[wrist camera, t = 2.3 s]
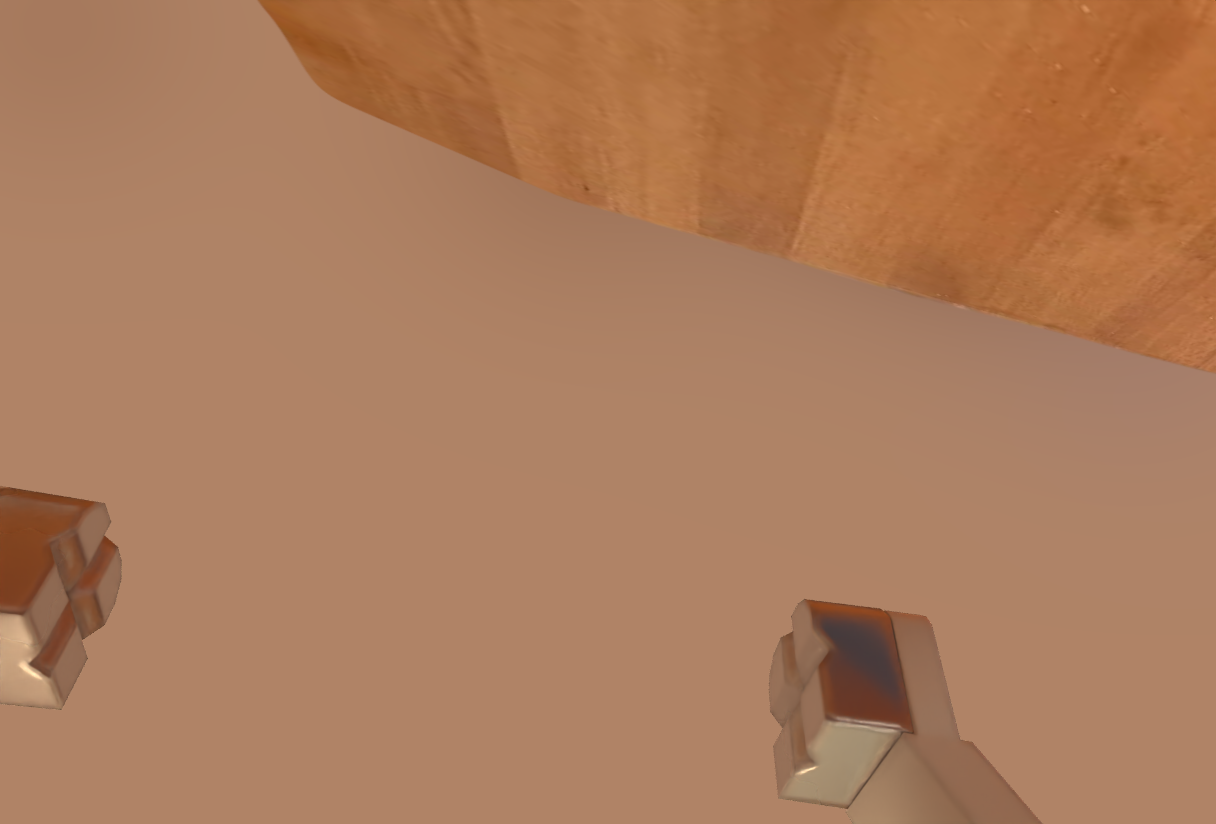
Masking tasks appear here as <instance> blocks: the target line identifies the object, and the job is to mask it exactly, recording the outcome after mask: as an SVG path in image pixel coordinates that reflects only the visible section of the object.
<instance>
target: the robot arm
mask: <svg viewBox="0 0 1216 824" xmlns="http://www.w3.org/2000/svg"><path fill="white" fill-rule="evenodd" d="M110 523H111V520H110V517H109V514H108V511H107V508H106V505H105V503H101V502H95V501H89V500H83V499H77V498H71V497H64V496H58V495H52V494H46V493H39V492H34V491H28V490H21V489H15V488H10V487H3V486H0V704H7V705H18V706H29V707H38V708H48V709H59V710H61V709H62V708H63V706H64V704H65V702H66V700H67V698H68V696H69V694H70V692H71V690H72V688H73V686H74V684H75V682H76V680H77V678H78V677H79V675H80V673H81V671H82V669H83V667H84V665H85V663H86V661H87V659H88V658H87V655H86V651H85V648H84V645H83V641H82V640H83V639H85V638H86V637H87V636H89V635H91V634H92V633H94V632H95V631H96V630H98V629H100V628H101V627H102V626H104V625H105V623H106V621H107V619H108V617H109V615H110V613H111V611H112V609H113V607H114V605H115V602H116V598H117V594H118V590H119V586H120V582H121V557H120V553H119V549H118V547H117V546H116V545H115V544H114V543H112V542H111V541H110V540H109V539H108V538H107V537H105V536H104V534H105V532H106V531H107V529H108V527H109V525H110ZM791 617H792V626H793V632H791V633H789V634H787V635H785V636H783V637H781V638H780V641H779V643H778V645H777V648H776V650H775V652H774V655H773V660H772V665H771V670H770V680H769V681H770V682H769V699H770V712H771V713H772V715H773V716H774V717H775V719H776V720H777V721H778V723H779V724H780V725H781V727H782V728H783V729H782V731H781V733H780V735H779V737H778V739H777V741H776V742H775V744H774V746H773V747H774V758H775V768H776V779H777V789H778V798H780V799H786V800H793V801H799V802H806V803H812V804H819V805H826V806H833V807H839V808H846V809H847V811H846V813H847V815H848V817H849V818H850V820H851V822H852V823H853V824H1042V823H1041V822H1040V820H1039V819H1038V818H1037V817H1036V816H1035V815H1034V814H1033V812H1032V811H1031V810H1030V809H1029V808H1028V806H1027V805H1026V804H1025V803H1024V802H1023V801H1022V799H1021V798H1020V797H1019V796H1018V795H1017V794H1016V792H1015V791H1014V790H1013V789H1012V788H1011V787H1010V785H1009V784H1008V783H1007V782H1006V781H1005V780H1004V778H1003V777H1002V776H1001V775H1000V774H999V773H998V772H997V770H996V769H995V768H994V767H993V766H992V764H991V763H990V762H989V761H988V760H987V759H986V757H985V756H984V755H983V754H982V753H981V752H980V750H979V749H978V748H977V747H976V746H975V745H974V743H973V742H969V741H963V740H960V737H959V733H958V729H957V724H956V720H955V717H954V712H953V708H952V704H951V700H950V696H949V692H948V688H947V684H946V680H945V676H944V672H943V668H942V664H941V660H940V656H939V652H938V647H937V644H936V640H935V635H934V631H933V627H932V624H931V623H930V621H929V620H928V619H927V617H926V616H921V615H916V614H908V613H900V612H892V611H883V610H882V609H879V608H870V607H863V606H855V605H846V604H839V603H831V602H822V601H814V600H807V599H804V600H802V601H801V602H800V603H798V605H797V607H796V608H795V610H794V612H793V614H792V616H791Z"/></svg>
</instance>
